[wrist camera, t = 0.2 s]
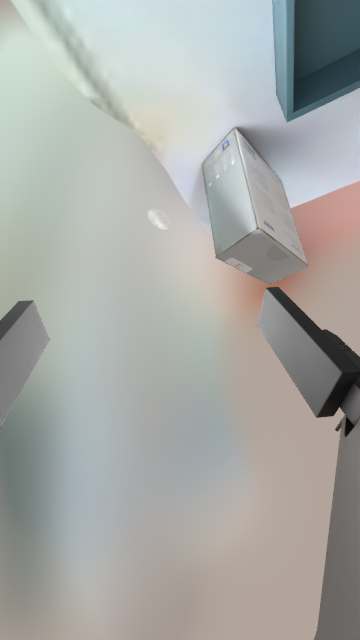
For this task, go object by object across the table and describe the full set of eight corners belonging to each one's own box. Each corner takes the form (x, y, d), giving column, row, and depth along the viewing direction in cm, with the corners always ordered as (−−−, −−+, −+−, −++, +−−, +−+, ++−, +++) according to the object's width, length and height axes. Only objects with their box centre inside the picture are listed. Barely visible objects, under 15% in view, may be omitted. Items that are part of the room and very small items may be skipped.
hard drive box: (199, 164, 41) (213, 257, 34) (234, 124, 36) (259, 225, 28) (250, 206, 50) (268, 286, 43) (283, 180, 45) (311, 266, 38)
